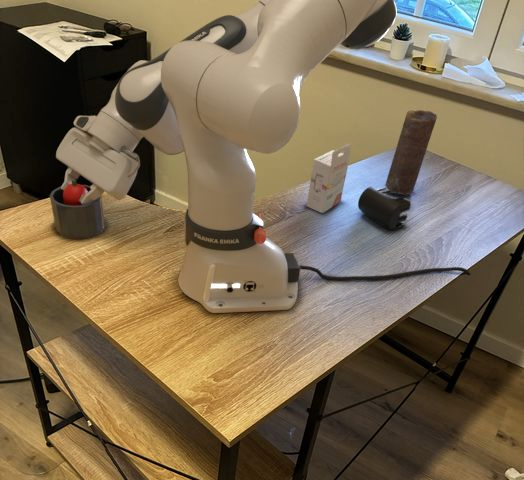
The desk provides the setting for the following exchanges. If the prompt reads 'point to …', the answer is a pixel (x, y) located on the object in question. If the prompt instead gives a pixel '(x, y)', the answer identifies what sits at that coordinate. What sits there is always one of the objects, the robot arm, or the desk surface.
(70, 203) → the pepper
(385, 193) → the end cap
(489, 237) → the desk surface
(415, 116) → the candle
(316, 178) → the ink cartridge box
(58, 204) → the pot
